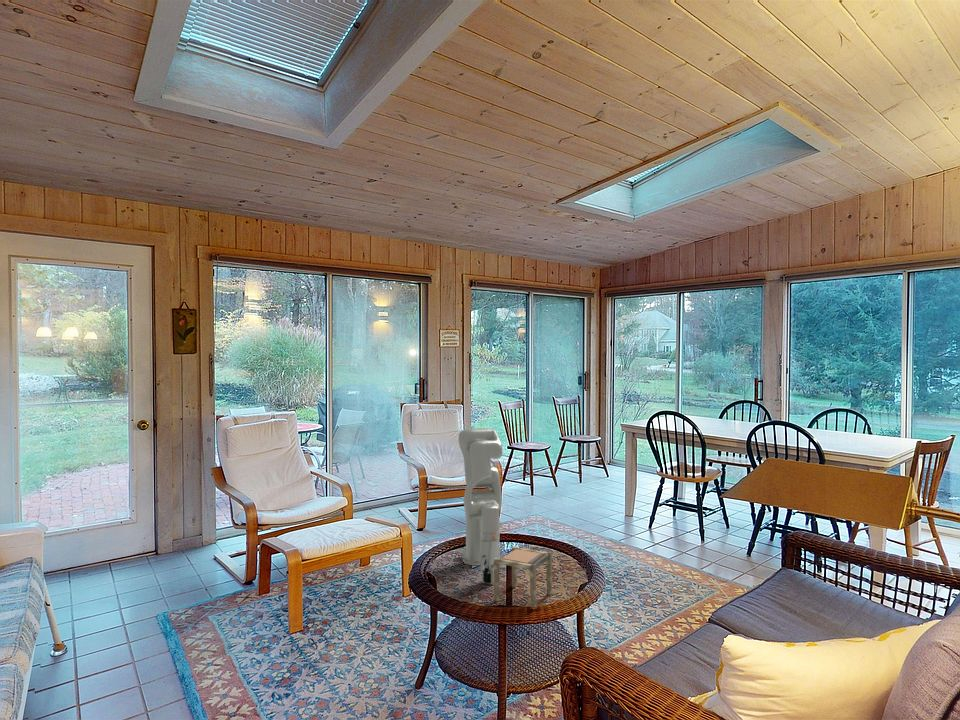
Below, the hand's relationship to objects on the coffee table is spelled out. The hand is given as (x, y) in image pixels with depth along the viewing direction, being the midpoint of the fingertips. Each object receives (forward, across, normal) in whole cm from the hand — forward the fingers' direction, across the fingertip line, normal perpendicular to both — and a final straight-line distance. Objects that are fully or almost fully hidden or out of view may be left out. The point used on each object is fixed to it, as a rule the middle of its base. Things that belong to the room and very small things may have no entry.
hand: (490, 579), depth 217 cm
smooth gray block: (+1, 0, 0) cm, 1 cm away
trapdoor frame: (+1, +7, +18) cm, 20 cm away
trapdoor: (-14, +7, +18) cm, 24 cm away
